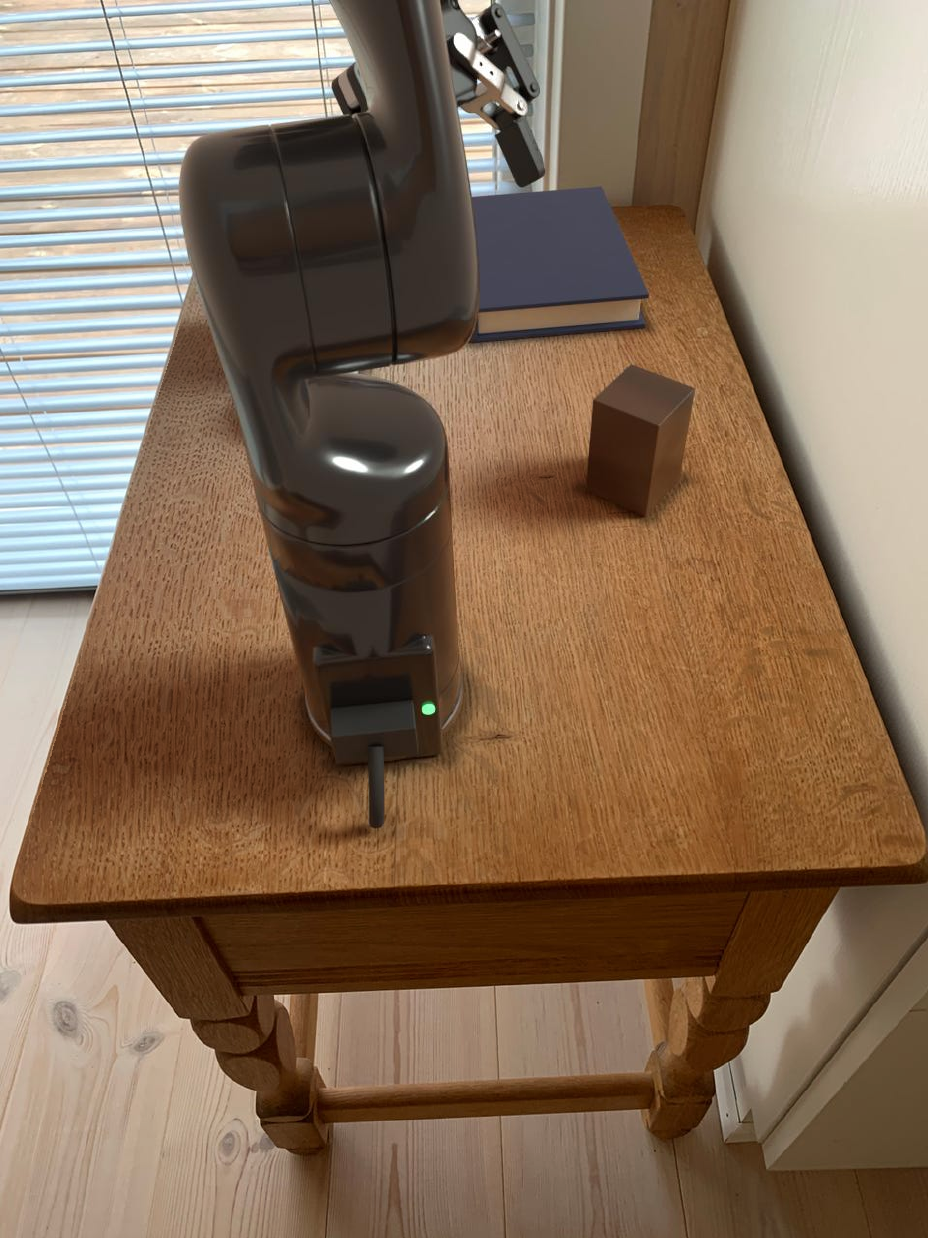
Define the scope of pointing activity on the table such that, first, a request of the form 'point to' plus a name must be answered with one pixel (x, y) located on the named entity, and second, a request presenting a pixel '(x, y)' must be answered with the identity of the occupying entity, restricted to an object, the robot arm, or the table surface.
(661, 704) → the table surface
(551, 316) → the book
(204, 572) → the table surface
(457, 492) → the table surface
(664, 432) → the walnut block
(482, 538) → the table surface
